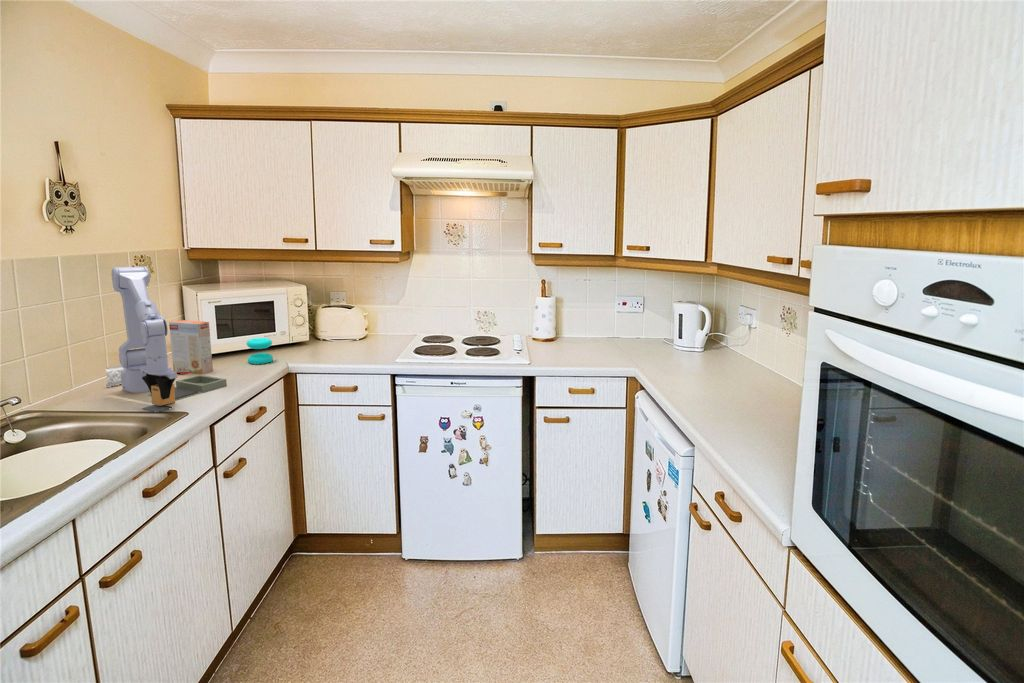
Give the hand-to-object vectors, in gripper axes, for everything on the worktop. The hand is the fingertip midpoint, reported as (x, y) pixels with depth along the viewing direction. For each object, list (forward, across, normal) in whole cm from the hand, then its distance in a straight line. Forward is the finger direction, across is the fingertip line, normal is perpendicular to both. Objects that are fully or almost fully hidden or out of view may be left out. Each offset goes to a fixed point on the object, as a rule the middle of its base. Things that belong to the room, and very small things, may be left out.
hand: (160, 397), depth 185 cm
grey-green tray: (+3, +7, -15) cm, 17 cm away
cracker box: (+4, +28, -34) cm, 45 cm away
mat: (+3, 0, 0) cm, 3 cm away
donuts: (+4, +20, -60) cm, 64 cm away
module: (+2, 0, -1) cm, 2 cm away
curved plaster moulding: (+4, +30, -13) cm, 32 cm away
